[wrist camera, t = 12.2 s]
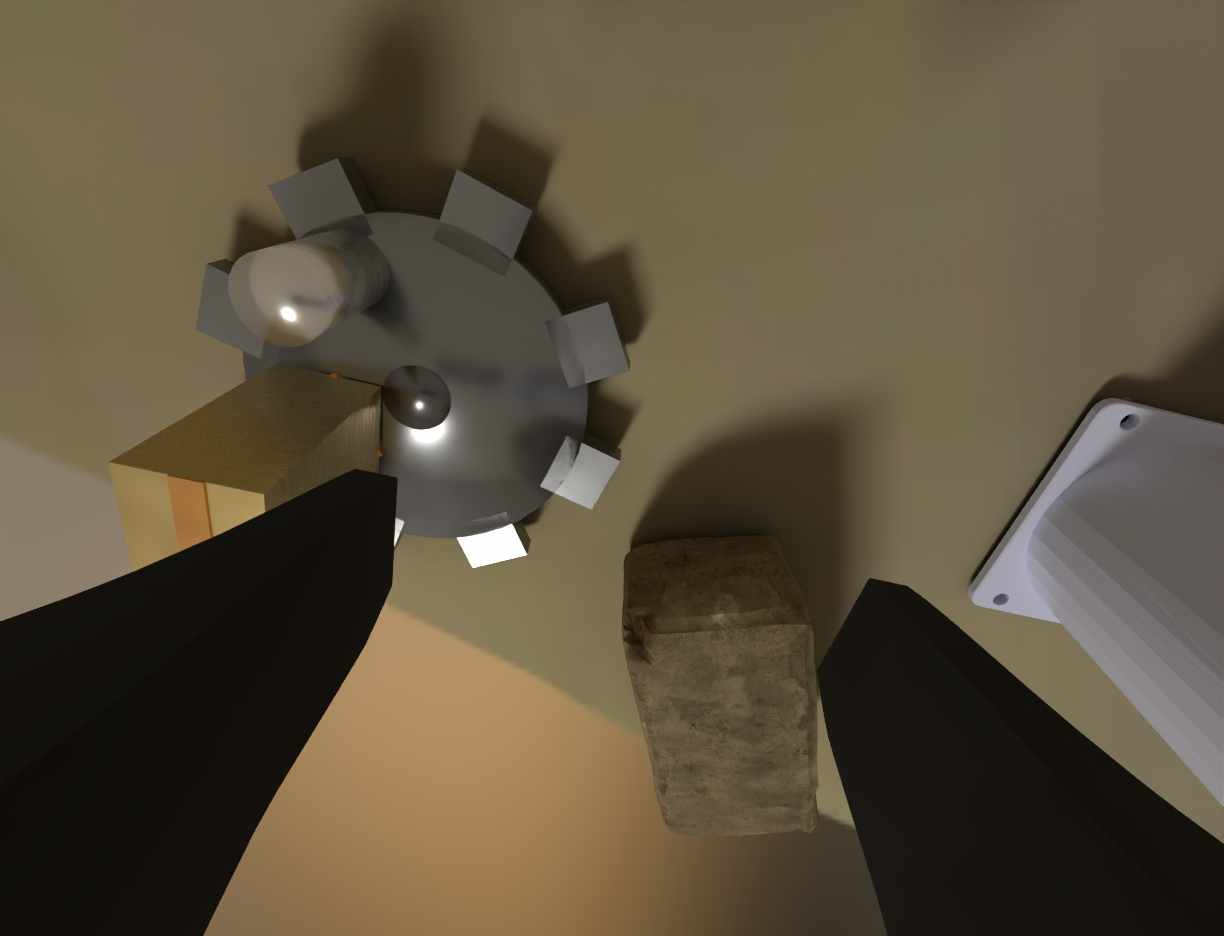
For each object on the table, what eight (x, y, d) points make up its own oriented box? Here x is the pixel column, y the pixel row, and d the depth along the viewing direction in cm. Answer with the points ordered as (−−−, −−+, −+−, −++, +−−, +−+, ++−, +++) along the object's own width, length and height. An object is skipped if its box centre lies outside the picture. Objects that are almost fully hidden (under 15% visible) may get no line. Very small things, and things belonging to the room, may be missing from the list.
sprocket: (541, 82, 14) (503, 56, 10) (675, 505, 19) (683, 594, 16) (125, 247, 16) (-36, 278, 12) (351, 584, 22) (288, 678, 18)
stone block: (780, 509, 20) (819, 612, 16) (797, 727, 25) (829, 848, 21) (615, 533, 21) (608, 637, 16) (665, 739, 26) (670, 858, 22)
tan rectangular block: (381, 386, 17) (262, 495, 12) (376, 513, 19) (275, 654, 14) (276, 362, 17) (105, 463, 11) (283, 493, 19) (144, 629, 14)
